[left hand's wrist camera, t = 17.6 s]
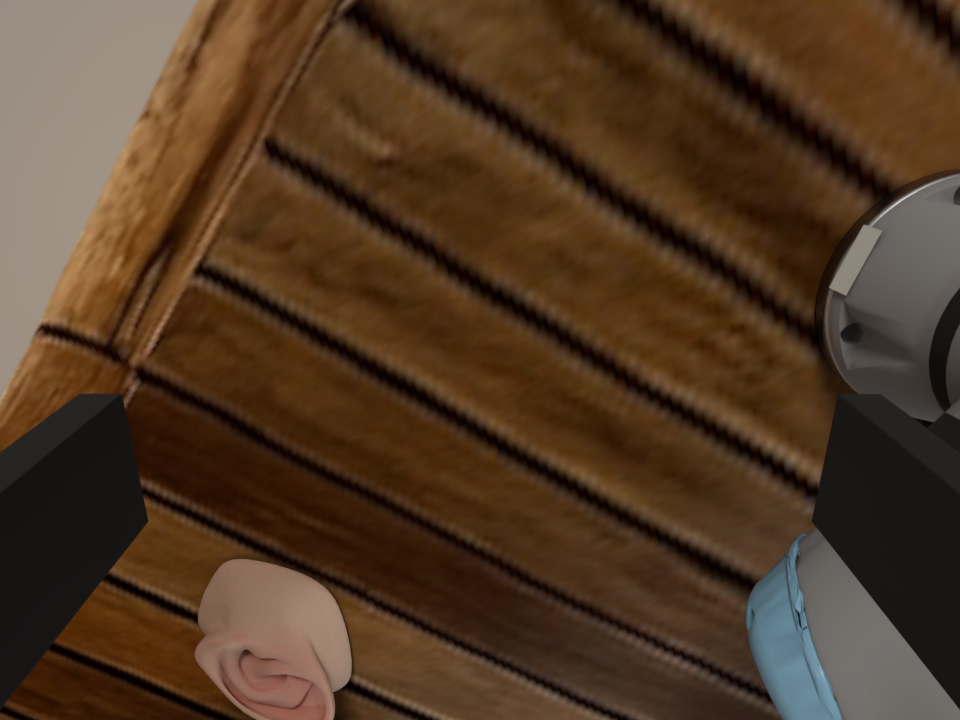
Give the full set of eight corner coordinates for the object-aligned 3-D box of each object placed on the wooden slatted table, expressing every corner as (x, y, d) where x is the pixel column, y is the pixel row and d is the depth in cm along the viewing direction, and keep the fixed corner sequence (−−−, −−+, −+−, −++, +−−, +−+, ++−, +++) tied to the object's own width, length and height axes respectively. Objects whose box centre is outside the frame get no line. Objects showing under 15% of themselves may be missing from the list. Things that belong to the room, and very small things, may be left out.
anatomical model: (167, 592, 45) (339, 599, 46) (191, 555, 49) (349, 562, 49) (188, 737, 50) (343, 743, 50) (208, 693, 54) (353, 698, 54)
